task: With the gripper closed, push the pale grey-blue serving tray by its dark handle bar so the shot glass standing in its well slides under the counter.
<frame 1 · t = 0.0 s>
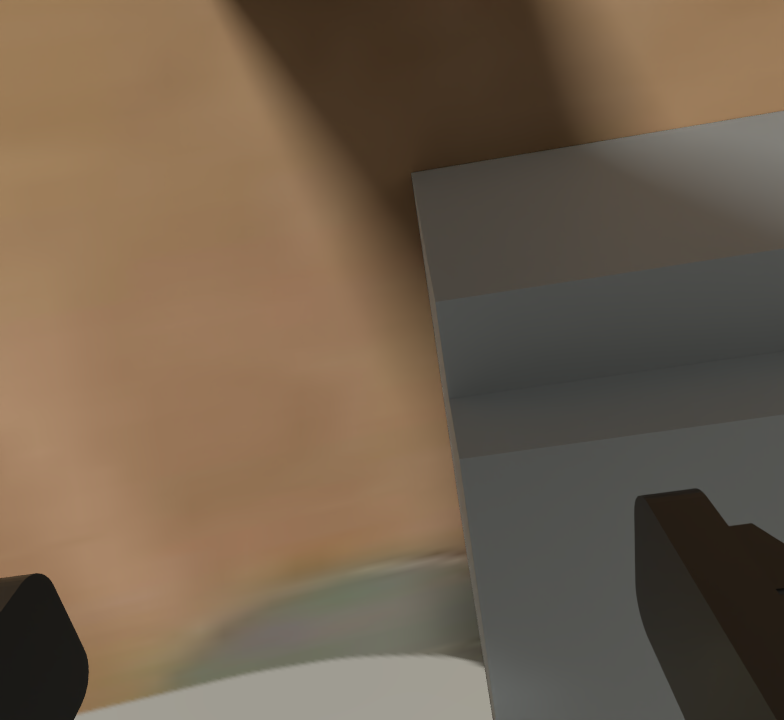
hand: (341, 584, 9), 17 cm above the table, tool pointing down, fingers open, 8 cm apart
counter: (738, 326, 26), on the table
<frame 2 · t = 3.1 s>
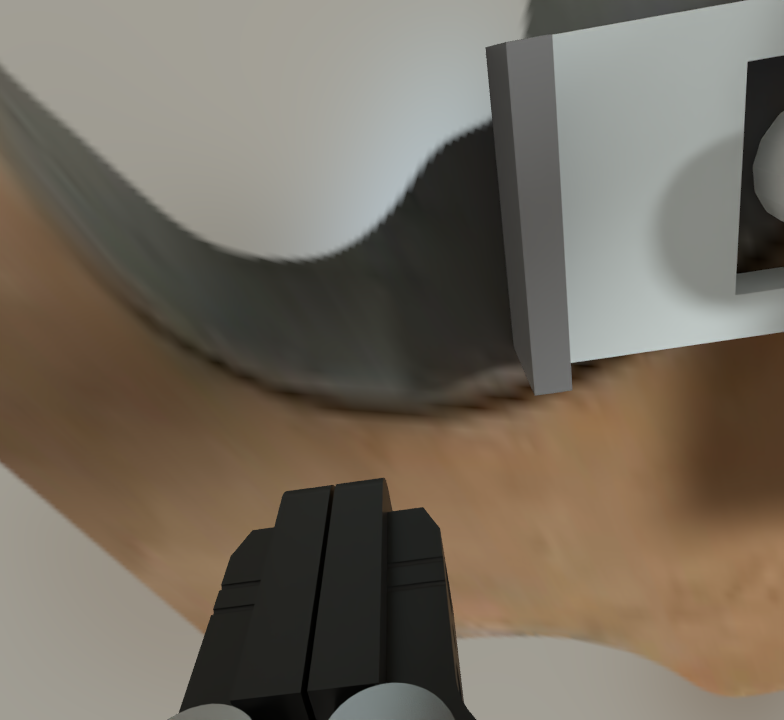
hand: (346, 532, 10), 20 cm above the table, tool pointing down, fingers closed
tray: (676, 183, 28), on the table
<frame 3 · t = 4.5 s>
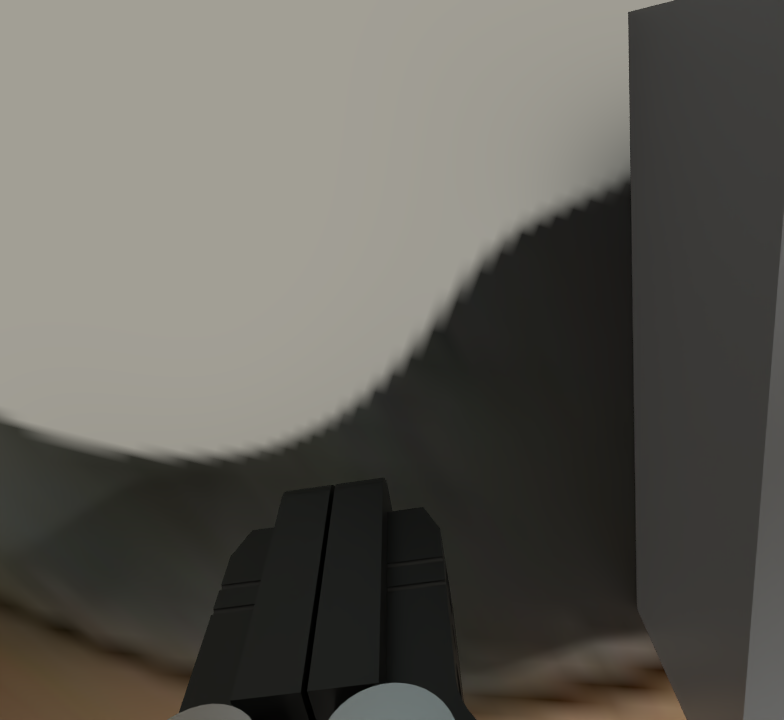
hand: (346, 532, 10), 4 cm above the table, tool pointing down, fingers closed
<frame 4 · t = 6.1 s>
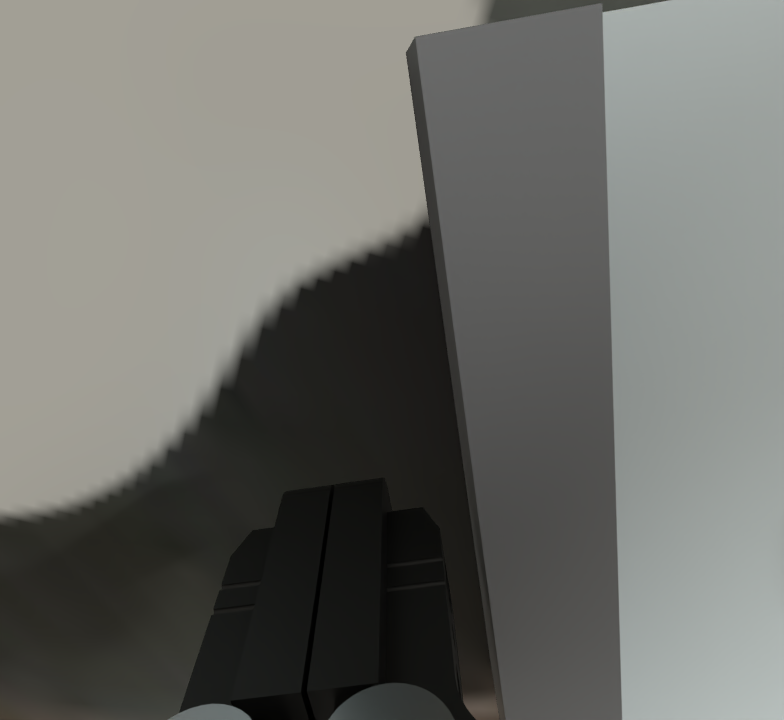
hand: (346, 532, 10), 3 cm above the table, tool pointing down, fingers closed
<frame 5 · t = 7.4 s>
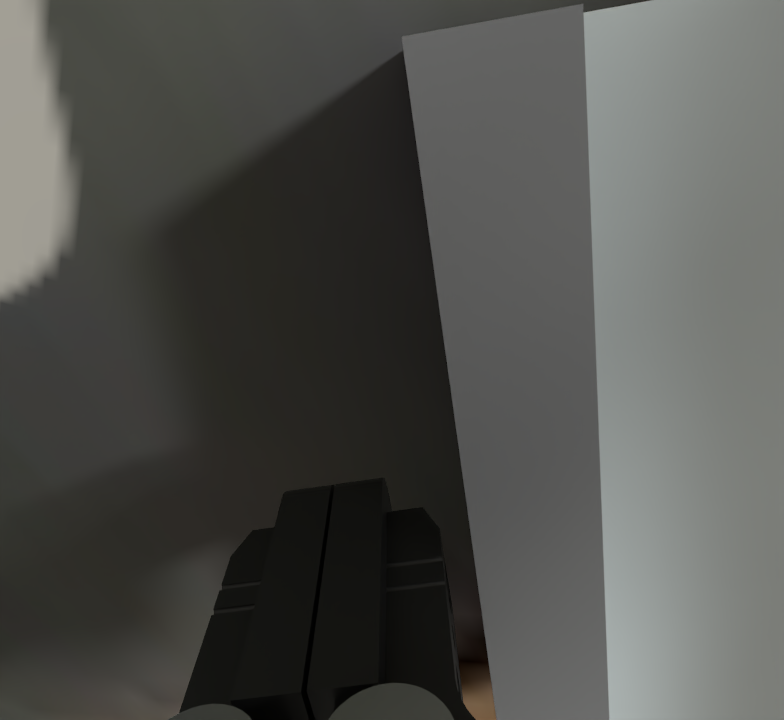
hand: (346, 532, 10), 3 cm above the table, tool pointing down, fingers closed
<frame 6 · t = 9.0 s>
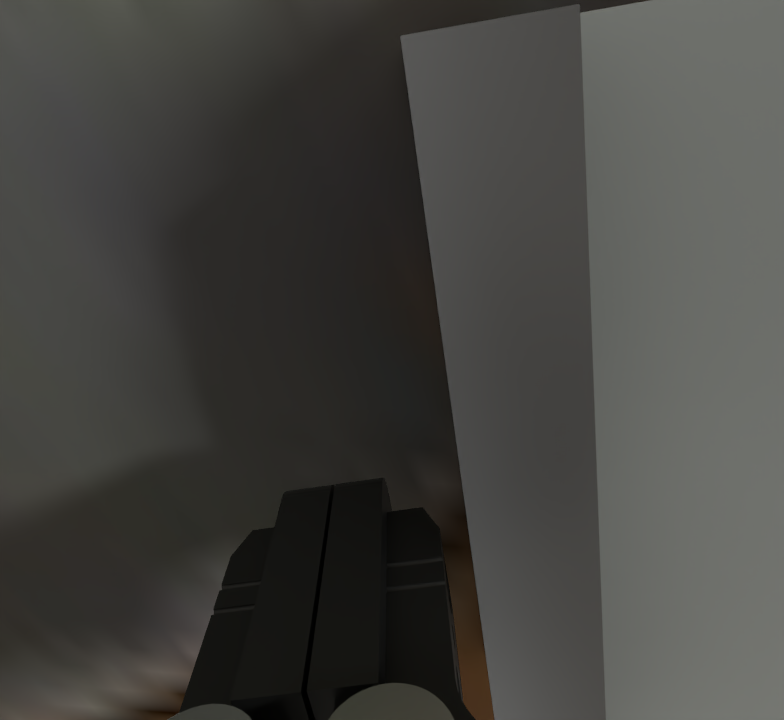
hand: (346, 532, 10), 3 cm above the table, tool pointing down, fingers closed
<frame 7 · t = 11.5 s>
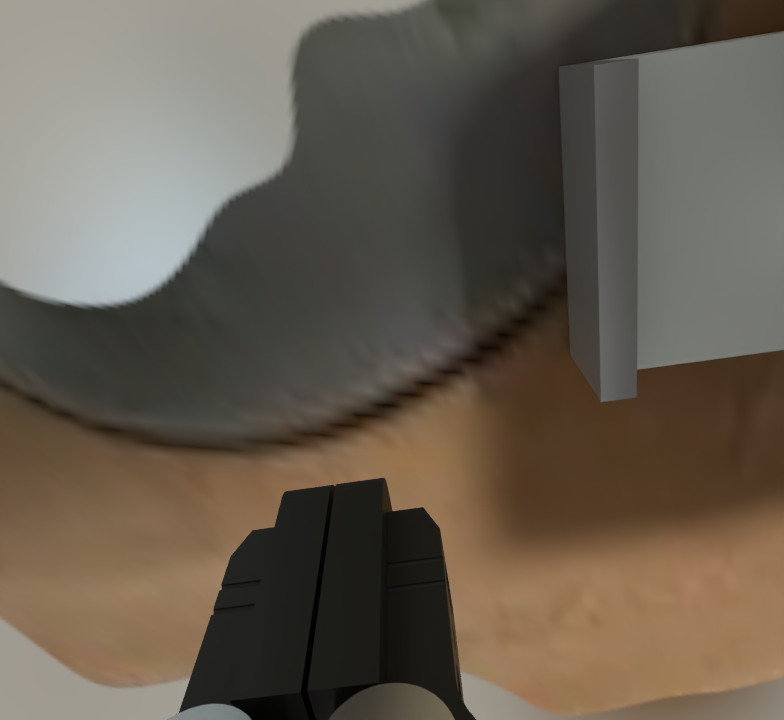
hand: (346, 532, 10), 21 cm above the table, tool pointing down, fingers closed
tray: (734, 198, 29), on the table
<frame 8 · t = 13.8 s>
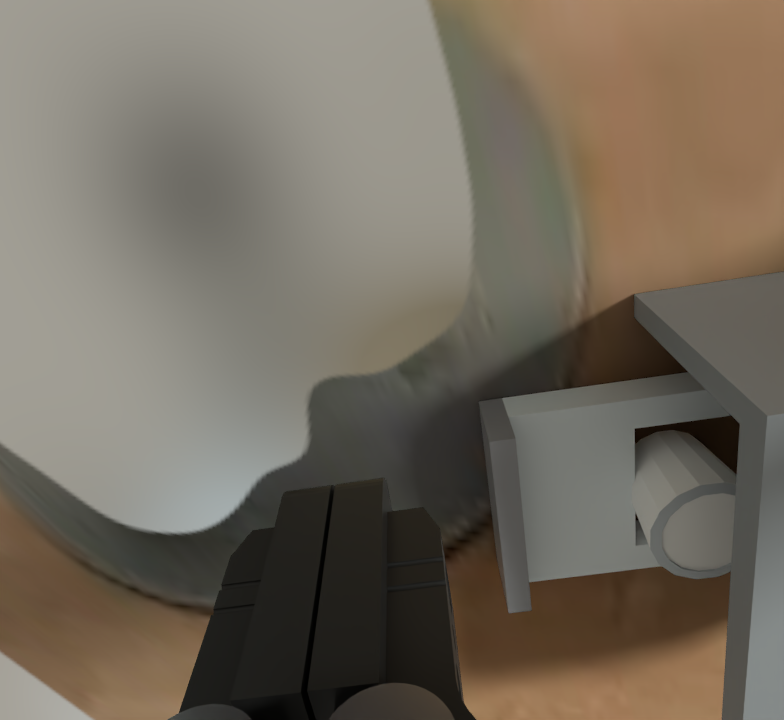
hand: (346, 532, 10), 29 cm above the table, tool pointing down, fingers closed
shot glass: (662, 464, 44), resting in tray
tray: (599, 470, 44), on the table
counter: (743, 449, 43), on the table
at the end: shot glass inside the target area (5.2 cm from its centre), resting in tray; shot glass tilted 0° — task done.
